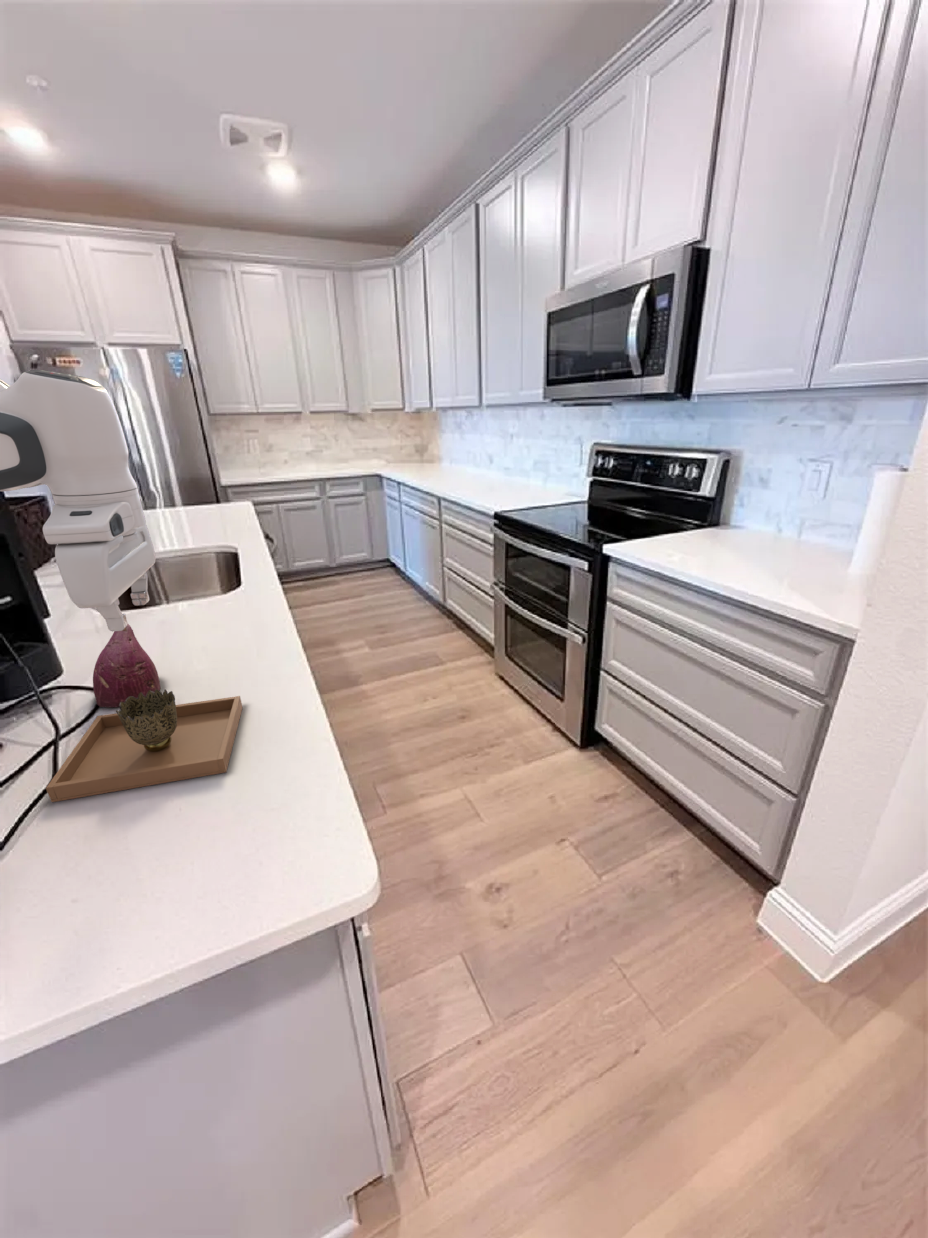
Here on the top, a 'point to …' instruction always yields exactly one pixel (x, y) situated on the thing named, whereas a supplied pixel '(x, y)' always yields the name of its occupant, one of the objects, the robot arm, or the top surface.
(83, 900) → the top surface
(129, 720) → the cup
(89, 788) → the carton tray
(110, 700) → the vegetable
